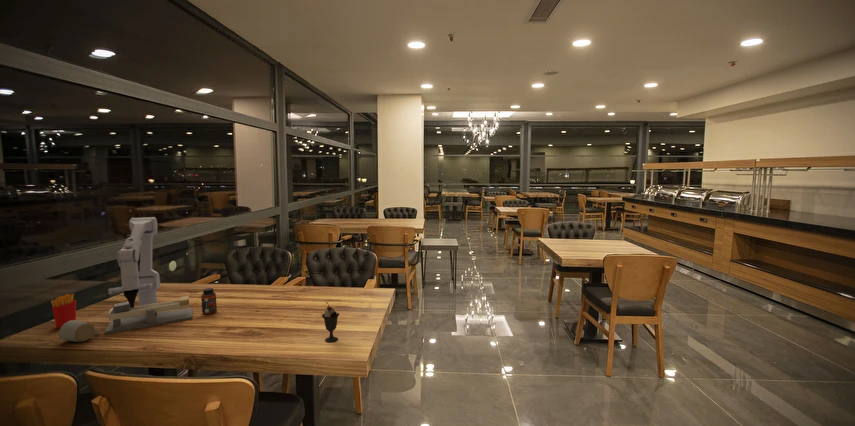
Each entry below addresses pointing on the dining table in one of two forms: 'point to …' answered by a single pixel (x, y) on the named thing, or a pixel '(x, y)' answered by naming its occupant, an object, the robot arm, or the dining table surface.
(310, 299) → the dining table surface
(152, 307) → the beam
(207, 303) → the supplement bottle
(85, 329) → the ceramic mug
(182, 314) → the stand
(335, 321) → the sundae
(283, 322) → the dining table surface
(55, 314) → the french fries
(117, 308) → the rider
